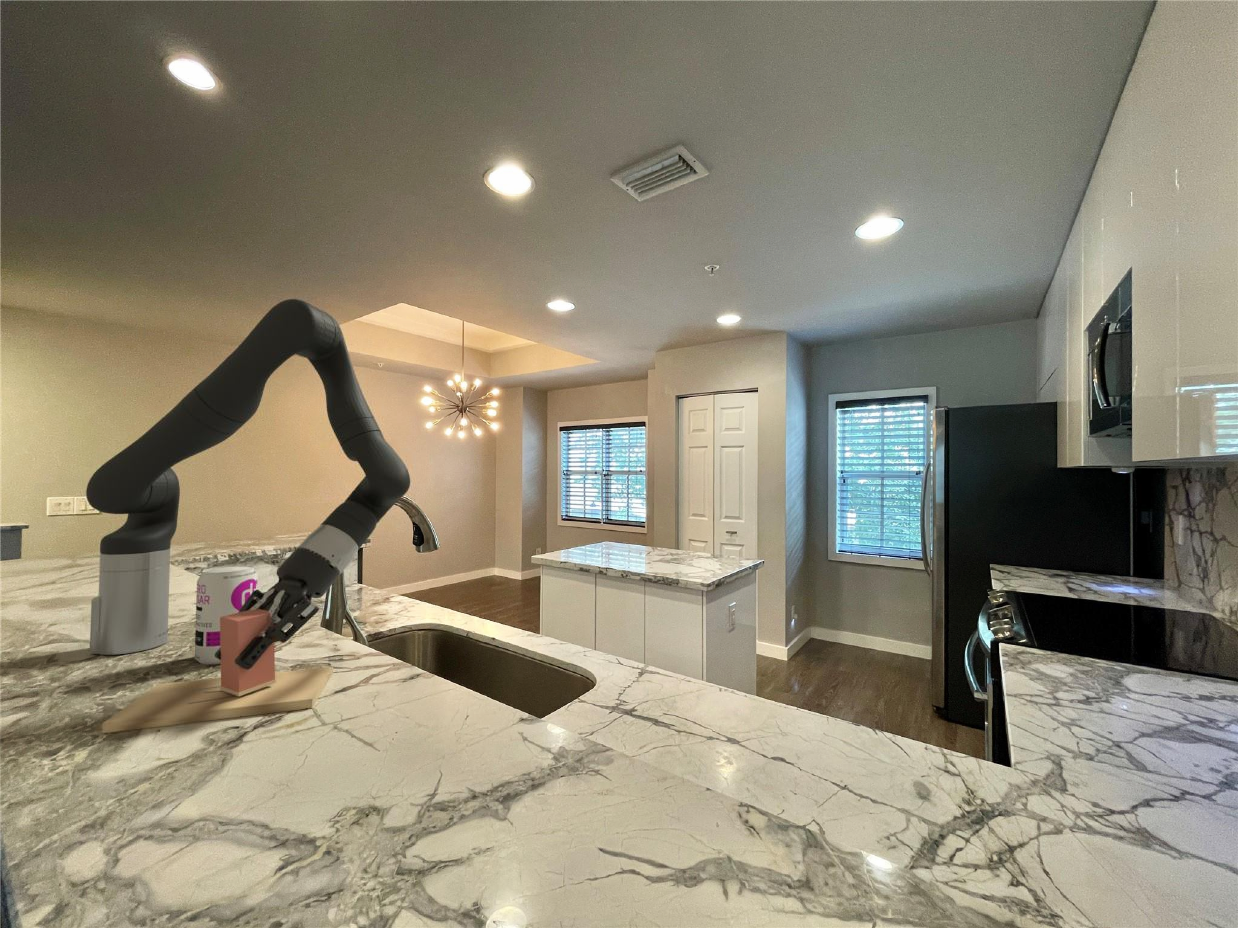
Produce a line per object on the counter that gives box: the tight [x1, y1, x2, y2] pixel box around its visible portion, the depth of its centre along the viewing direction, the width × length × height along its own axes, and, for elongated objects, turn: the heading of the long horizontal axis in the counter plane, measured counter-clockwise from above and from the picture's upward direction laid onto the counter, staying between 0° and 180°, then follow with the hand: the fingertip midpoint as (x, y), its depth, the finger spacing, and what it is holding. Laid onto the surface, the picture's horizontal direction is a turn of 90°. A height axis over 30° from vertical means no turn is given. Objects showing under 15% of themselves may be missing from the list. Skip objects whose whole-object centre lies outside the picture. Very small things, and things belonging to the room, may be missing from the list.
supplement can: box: [194, 564, 259, 666], centre depth 86 cm, size 8×8×15 cm
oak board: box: [101, 666, 334, 734], centre depth 69 cm, size 22×12×1 cm, turn 108°
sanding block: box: [220, 609, 276, 696], centre depth 70 cm, size 5×5×10 cm
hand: (231, 662), depth 68 cm, fingers closed on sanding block, 4 cm apart
